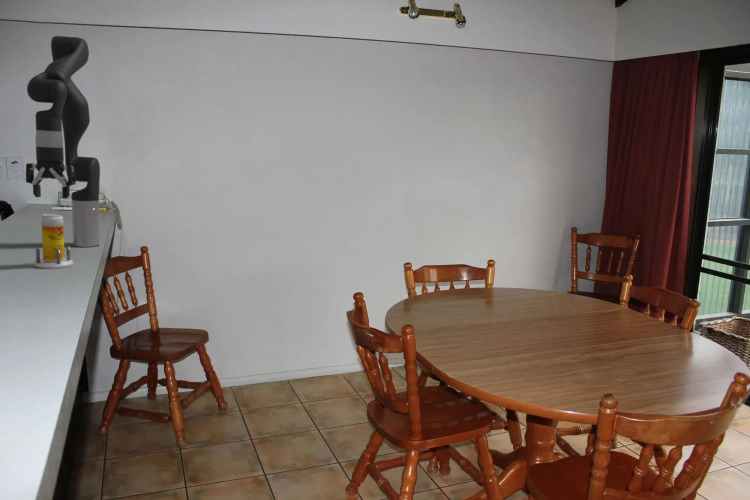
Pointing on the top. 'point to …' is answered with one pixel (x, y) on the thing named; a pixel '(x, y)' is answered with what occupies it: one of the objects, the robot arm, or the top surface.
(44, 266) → the pin tray
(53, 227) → the beer can
